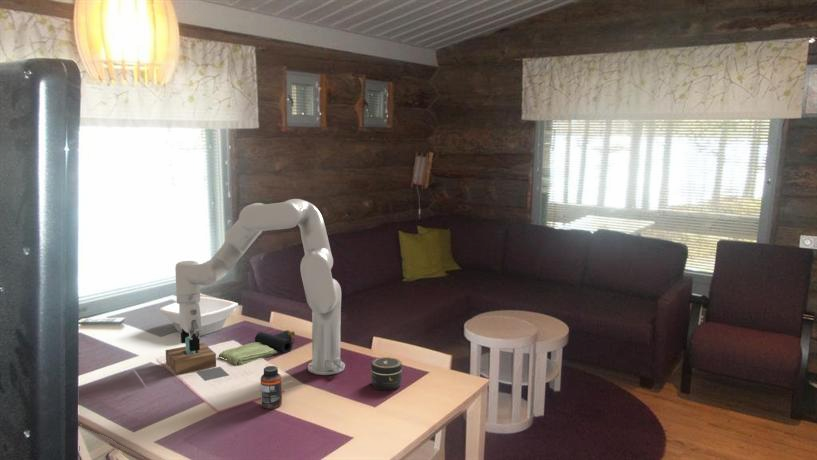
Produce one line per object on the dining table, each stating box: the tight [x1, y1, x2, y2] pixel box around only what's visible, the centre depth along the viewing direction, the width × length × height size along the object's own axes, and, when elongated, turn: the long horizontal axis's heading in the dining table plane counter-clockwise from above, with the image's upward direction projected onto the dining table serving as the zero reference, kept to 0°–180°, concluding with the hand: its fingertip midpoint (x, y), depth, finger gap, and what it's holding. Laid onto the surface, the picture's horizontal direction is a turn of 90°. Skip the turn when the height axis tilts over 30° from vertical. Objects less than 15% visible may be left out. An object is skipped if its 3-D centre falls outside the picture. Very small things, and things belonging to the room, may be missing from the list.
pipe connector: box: [254, 329, 296, 354], centre depth 220 cm, size 12×5×15 cm
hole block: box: [165, 342, 217, 376], centre depth 198 cm, size 13×13×5 cm
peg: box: [184, 337, 195, 355], centre depth 198 cm, size 3×3×10 cm
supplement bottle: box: [260, 365, 283, 410], centre depth 168 cm, size 6×6×11 cm
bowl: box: [158, 296, 239, 337], centre depth 237 cm, size 24×25×10 cm
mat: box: [196, 366, 230, 381], centre depth 191 cm, size 9×8×1 cm
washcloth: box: [218, 341, 278, 366], centre depth 208 cm, size 13×18×3 cm
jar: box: [370, 356, 403, 391], centre depth 185 cm, size 10×10×8 cm
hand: (190, 346), depth 197 cm, fingers open, 9 cm apart
